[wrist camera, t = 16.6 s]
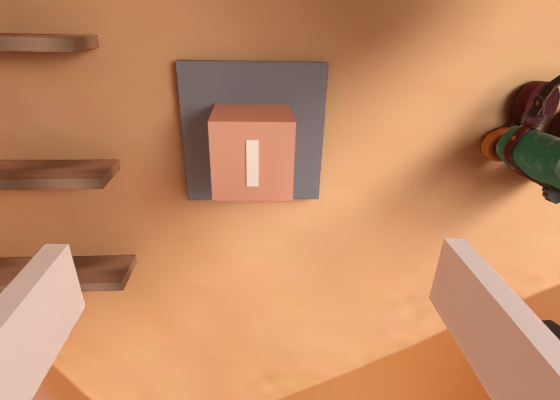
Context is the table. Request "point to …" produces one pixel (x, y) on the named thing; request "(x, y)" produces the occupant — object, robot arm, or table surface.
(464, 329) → the robot arm
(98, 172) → the bay rack
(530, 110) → the binoculars
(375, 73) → the table surface
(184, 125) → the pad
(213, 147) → the letter cube
